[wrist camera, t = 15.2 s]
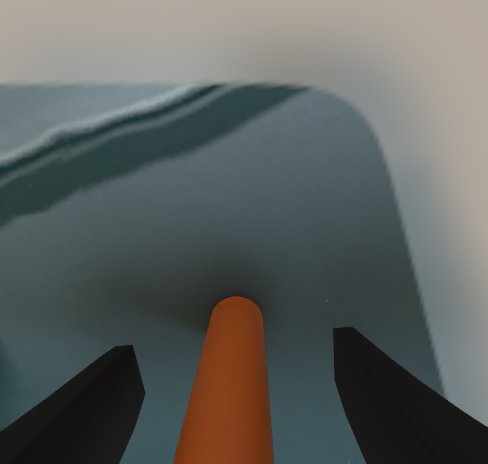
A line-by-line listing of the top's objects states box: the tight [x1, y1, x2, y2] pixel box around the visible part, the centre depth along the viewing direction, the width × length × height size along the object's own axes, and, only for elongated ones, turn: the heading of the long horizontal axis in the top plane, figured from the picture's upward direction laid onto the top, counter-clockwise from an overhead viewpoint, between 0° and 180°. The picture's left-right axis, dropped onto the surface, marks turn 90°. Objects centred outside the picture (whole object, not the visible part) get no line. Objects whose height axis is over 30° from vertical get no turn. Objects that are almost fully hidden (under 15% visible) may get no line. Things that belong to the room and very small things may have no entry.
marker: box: [173, 296, 274, 464], centre depth 6 cm, size 2×2×9 cm
